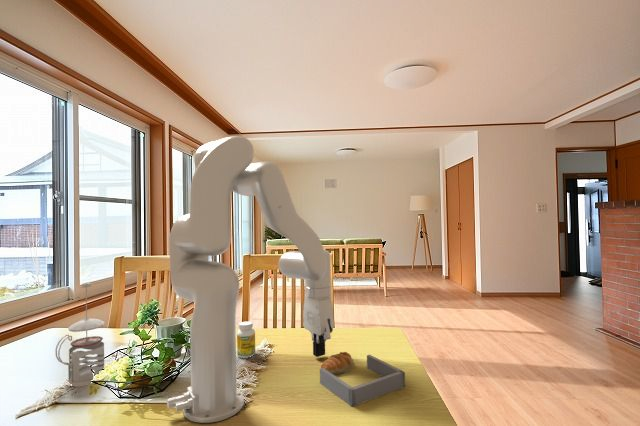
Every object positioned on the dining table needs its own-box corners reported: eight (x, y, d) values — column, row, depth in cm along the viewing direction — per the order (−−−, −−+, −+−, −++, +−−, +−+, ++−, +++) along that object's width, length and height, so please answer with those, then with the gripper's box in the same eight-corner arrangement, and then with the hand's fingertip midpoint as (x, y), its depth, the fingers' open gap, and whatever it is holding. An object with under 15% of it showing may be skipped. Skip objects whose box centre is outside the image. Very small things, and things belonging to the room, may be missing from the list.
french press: (116, 375, 93) (115, 281, 94) (65, 393, 84) (64, 288, 84) (98, 366, 99) (97, 278, 99) (49, 383, 89) (48, 285, 89)
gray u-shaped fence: (351, 406, 76) (351, 390, 76) (320, 383, 87) (319, 368, 87) (405, 386, 84) (404, 372, 84) (369, 367, 95) (369, 354, 95)
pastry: (332, 379, 89) (331, 364, 89) (314, 371, 94) (314, 357, 94) (356, 368, 95) (356, 354, 95) (338, 361, 100) (338, 348, 100)
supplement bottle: (252, 350, 109) (252, 319, 109) (257, 356, 104) (257, 324, 104) (235, 353, 106) (234, 322, 107) (239, 360, 102) (239, 326, 102)
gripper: (294, 289, 107) (295, 349, 106) (321, 298, 94) (322, 367, 94) (315, 286, 111) (316, 344, 110) (343, 295, 98) (344, 360, 98)
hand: (319, 354), depth 102 cm, fingers closed
